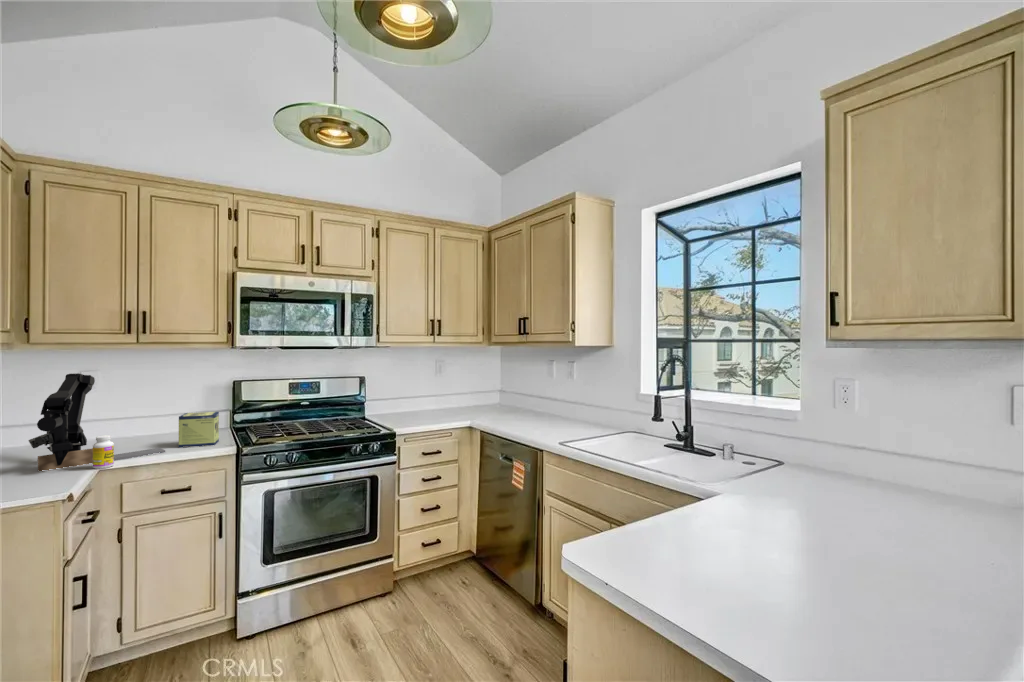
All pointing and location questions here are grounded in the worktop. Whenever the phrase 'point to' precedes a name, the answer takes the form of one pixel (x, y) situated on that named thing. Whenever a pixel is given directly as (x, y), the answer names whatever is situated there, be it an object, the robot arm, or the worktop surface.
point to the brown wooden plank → (66, 459)
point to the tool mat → (137, 453)
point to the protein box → (198, 429)
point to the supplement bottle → (103, 452)
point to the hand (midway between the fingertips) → (58, 464)
